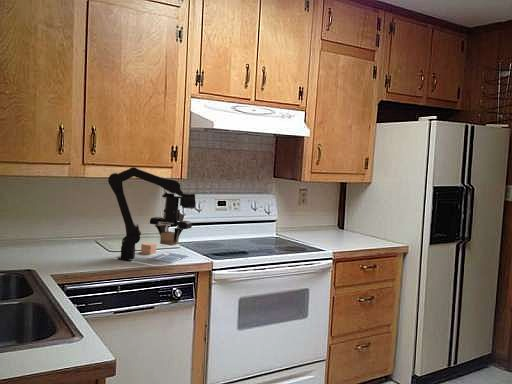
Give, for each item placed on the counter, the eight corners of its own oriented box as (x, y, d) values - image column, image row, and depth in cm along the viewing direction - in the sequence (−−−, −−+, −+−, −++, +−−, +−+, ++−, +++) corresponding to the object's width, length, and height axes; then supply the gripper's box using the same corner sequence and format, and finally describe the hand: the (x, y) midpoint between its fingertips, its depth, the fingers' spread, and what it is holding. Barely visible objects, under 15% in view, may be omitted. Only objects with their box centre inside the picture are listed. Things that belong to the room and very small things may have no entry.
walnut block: (171, 245, 219) (172, 234, 218) (160, 243, 221) (160, 232, 220) (178, 243, 224) (179, 232, 224) (166, 241, 226) (167, 231, 226)
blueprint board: (170, 264, 215) (170, 263, 215) (146, 260, 219) (146, 259, 219) (189, 257, 232) (189, 255, 232) (167, 253, 236) (167, 252, 236)
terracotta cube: (150, 256, 228) (150, 245, 227) (140, 254, 230) (141, 244, 229) (155, 254, 233) (156, 244, 232) (146, 252, 234) (147, 242, 234)
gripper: (198, 208, 225) (195, 241, 227) (162, 203, 232) (160, 236, 233) (187, 210, 215) (184, 245, 216) (150, 205, 221) (147, 239, 222)
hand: (169, 241), depth 222 cm, fingers closed on walnut block, 6 cm apart
